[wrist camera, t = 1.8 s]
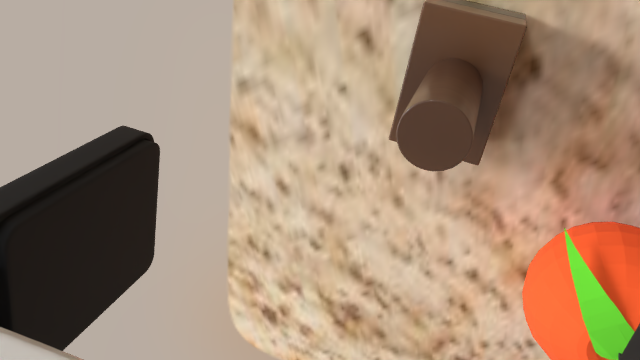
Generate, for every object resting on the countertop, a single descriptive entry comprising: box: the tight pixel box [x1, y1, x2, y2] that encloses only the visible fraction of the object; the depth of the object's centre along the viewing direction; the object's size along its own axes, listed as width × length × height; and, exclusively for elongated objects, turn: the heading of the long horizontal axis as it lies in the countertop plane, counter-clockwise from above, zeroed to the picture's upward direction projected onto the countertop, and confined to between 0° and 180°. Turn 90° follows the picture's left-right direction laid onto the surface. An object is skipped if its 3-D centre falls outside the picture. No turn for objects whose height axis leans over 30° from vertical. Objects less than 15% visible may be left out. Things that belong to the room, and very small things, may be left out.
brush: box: [389, 0, 527, 171], centre depth 22 cm, size 6×4×9 cm, turn 170°
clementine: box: [522, 222, 640, 360], centre depth 24 cm, size 8×7×7 cm
